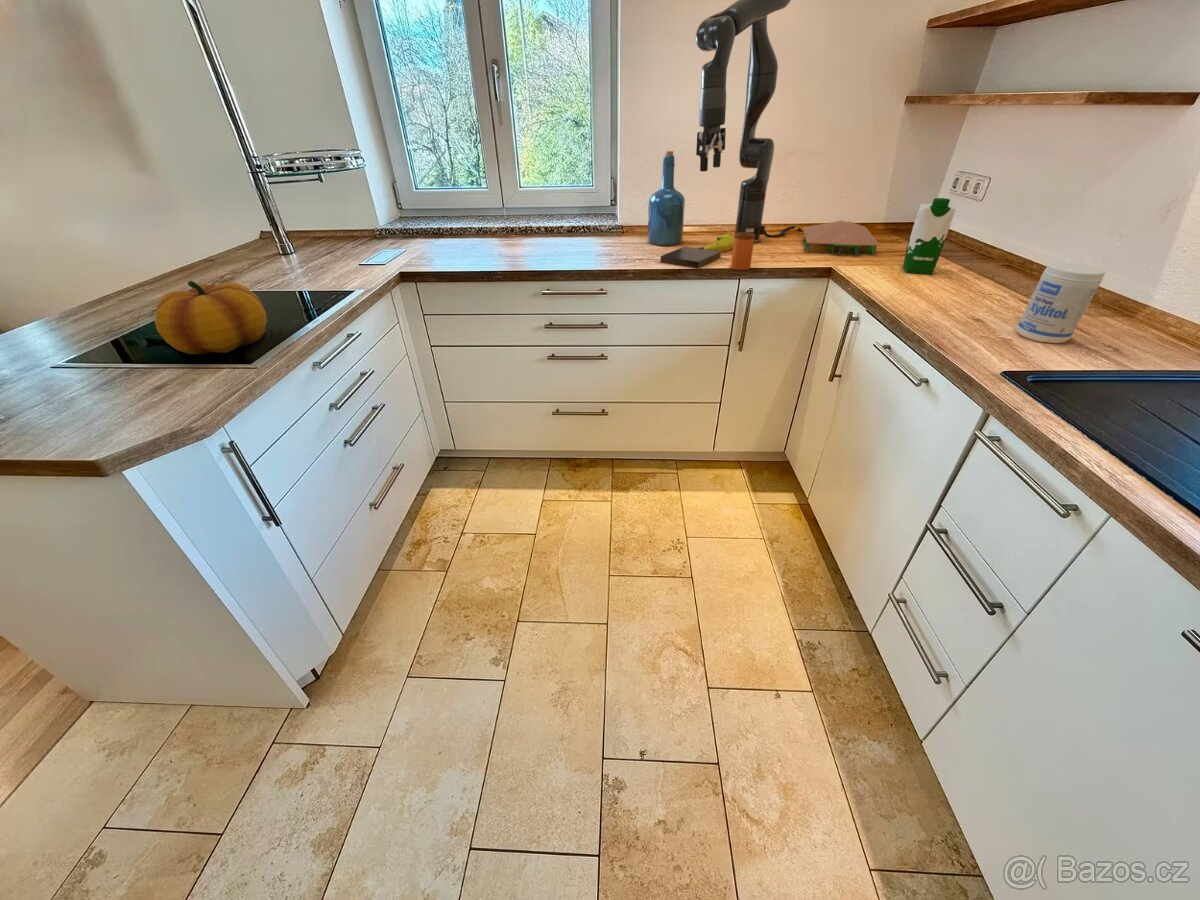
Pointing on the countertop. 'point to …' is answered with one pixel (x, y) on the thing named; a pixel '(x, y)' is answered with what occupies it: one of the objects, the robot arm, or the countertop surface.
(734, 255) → the tin
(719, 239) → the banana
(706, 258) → the board
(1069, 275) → the supplement tub
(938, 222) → the milk carton
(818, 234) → the house
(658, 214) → the wine bottle
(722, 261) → the countertop surface
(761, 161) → the robot arm
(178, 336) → the decorative pumpkin
